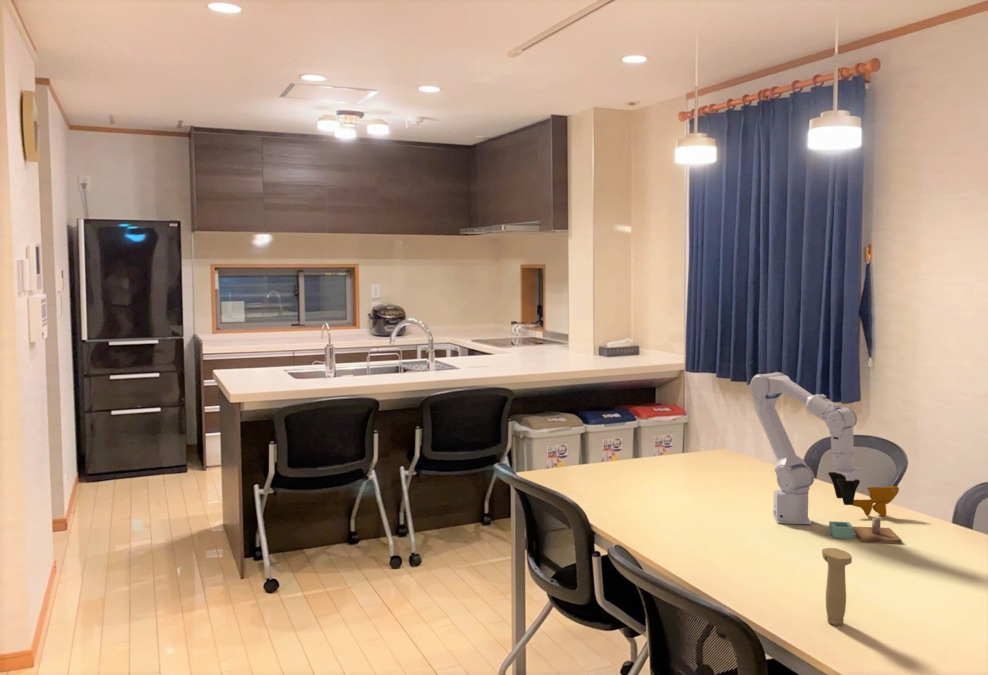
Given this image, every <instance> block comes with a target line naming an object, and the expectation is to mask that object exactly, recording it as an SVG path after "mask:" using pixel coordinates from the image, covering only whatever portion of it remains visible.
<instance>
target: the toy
mask: <svg viewBox="0 0 988 675" xmlns="http://www.w3.org/2000/svg"><path fill="white" fill-rule="evenodd" d="M866 489H867V490H868V493H869V498H870V499H854V502H853V505H852V506H853V507H856V508H861V510H862V511H863V512H864V515H865V516H867V517H869V516H870V514H871V513H872V510H873V511H874V512H875V513H877V514H878V515H880V516H881V517H884V518H887V506H886V505H888V504H889V503H891V502H892V501H893V500H894V499H895V498H896V496H897V495H898V494H899V491H900V488H899V487H898V486H895V485H891V486H884V487H882V486H881V487H876V486H875V487H873V486H872V487H866Z"/></svg>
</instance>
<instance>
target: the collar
mask: <svg viewBox="0 0 988 675" xmlns="http://www.w3.org/2000/svg"><path fill="white" fill-rule="evenodd" d="M828 527H829V528H828V531H829V532H828V533H829V534H830V533H831V534H830V535H831V536H833V537H832V538H833V539H849V540H851V539H852V540H854V539H855V533H854V527H855V526H853V525H852V524H851V523H850V521H829V522H828Z"/></svg>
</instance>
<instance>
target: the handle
mask: <svg viewBox="0 0 988 675" xmlns="http://www.w3.org/2000/svg"><path fill="white" fill-rule="evenodd" d="M821 554H822V559H823V560H824V561H825V562H826V563H827V575H826V577H827V578H826V586H825V587H826V588H825V609H826V610H825V611H826V617H827V622H828V623H827V624H829V625H834V626H842V625H843V624H844V621H845V620H844V618H845V614H846V609H847V608H846V607H847V589H846V583H847V582H846V566H848V565H850V564H852V563H853V556H852V554H850V553H849V552H848V551H845V550H843V549H841V548H836V547H826V548H825V547H824V548H822V549H821Z"/></svg>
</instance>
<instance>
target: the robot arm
mask: <svg viewBox="0 0 988 675" xmlns="http://www.w3.org/2000/svg"><path fill="white" fill-rule="evenodd" d="M748 388H749V391H750V393H751V395H752V400H753V401H752V402H753V407H754V411H755V412H756V415H757V417H758V419H759V421H760V424H761V426H762V428H763V431H764V433H765V435H766V437H767V440H768V442H769V444H770V446H771V449H772V452H773V454H774V455H775V458H776V460H777V464H776V465H775V467H774V472H775V474H776V482H777V486H778V487H779V488H780V489H774V491H773V512H772V516H773V517H774V519H775V521H776V523H778V524H786V525H787V524H789V525H791V524H792V525H793V524H794V525H812V521H811V520H810V518H809V491H810V488H811V487H812V485H813V484H814V481H815V474H814V472H813V470H812V469H811V468H810V467H809V466H808V465H807V463H806V461H805V460H804V459H803V458H801V457H800V456H798V455H797V454H796V452H795V449H794V447H793V444H792V443H791V440H790V437H789V435H788V434H787V431H786V429H785V426H784V425H783V422H782V420H781V418H780V416H779V414H778V411H777V409H776V407H775V406H776V404H777V402H778V400H779V399H780V397H781V396H782V395H783V394H784V395H786V396H788V397H790V398H792V399H794V400H796V401H797V402H800V403H801V404H803V405H805V406H806V407H805V408H806V410H807V412H808V413H810V414H812V415H814V416H815V417H816V418H818V419H820V420H821V421H823V422H825V425H826V427H827V428H828V431H829V435H830V448H831V449H830V451H831V452H830V453H831V454H830V456H831V468H830V469H831V470H830V472H828V476H829V478H830V480H831V481H832V486H833V488H834V493H835V496H836V499H842V502H843V504H844V506H853V502H854V500H855V495H856V491H857V490H858V487H859V485H860V484H861V483H860V482H861V481H860V480H859V479H856V477H855V473H856V472H859V471H860V467H857V466H855V449H854V448H855V447H854V446H855V442H854V427H855V426H856V425H857V422H858V417H857V414H856V412H855V411H854V410H853V409H852V408H851V407H848V406H845V407H844V406H843V407H842V406H841V404H839V403H835V402H833V401H831V400H830V399H828V398H827V395H825V394H819V393H817V394H812V393H811V392H809V391H807V390H806V389H804V388H803V387H802V386H800V385H799V384H798V383H796V382H794V381H793V380H791V378H790V377H789V376H788V375H787V374H786V375H785V374H784V373H782V372H779V371H775V372H772V373H764V374H760V373H759V374H755V375H754V376H753V377H752V378H751V381H750V384H749V386H748Z"/></svg>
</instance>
